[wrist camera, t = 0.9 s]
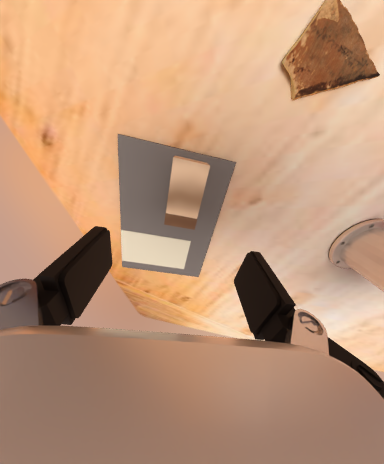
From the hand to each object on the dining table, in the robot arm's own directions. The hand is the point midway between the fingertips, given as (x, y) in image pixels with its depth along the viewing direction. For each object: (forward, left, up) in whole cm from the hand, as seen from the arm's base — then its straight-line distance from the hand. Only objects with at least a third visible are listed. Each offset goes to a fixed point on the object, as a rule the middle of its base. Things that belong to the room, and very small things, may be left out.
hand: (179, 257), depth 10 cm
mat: (+2, +7, -18) cm, 19 cm away
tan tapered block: (0, 0, -18) cm, 18 cm away
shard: (-14, -20, -19) cm, 31 cm away
